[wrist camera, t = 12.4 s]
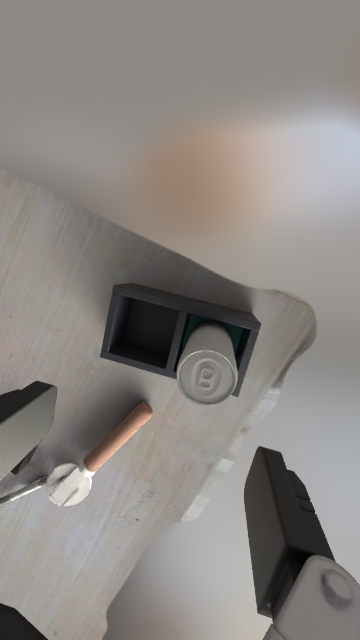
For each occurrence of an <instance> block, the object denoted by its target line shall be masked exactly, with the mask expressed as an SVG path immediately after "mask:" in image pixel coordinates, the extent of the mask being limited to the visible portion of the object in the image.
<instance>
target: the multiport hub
mask: <svg viewBox="0 0 360 640" xmlns="http://www.w3.org/2000/svg"><path fill="white" fill-rule="evenodd" d="M37 446H38V444H37V445H36V446H35V447H34V448H33V449H32V450H31V451H30V452H29V453H28V454H27V455H26V456H25V457H24V458H23V459H22V460H21V461H20V462H19V463H18V464H17V465H16V466H15V467H14V468H13V469H12V470H11V471H10V472H12V473H13V474H15V475H16V474H18V473H19V472H20V471H21V470H22V469H23V468H24V467H25V466H26V465H27V464H28V463H29V461H30V459H31V457H32V455H33V454H34V452H35V450H36V448H37Z"/></svg>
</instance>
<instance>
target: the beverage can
mask: <svg viewBox="0 0 360 640" xmlns="http://www.w3.org/2000/svg"><path fill="white" fill-rule="evenodd" d="M237 377H238V372H237V366H236V361H235V356H234V351H233V346H232V340H231V335H230V333H229V331H228V329H227V328H226V327H225V326H224V325H223V324H221V323H219V322H216V321H204V322H202V323H200V324H198V325H197V326H196V327H195V328H194V330H193V331H192V333H191V335H190V338H189V340H188V342H187V344H186V347H185V349H184V351H183V353H182V356H181V358H180V360H179V363H178V366H177V382H178V386H179V388H180V390H181V392H182V393H183V395H184V396H185V397H186V398H187V399H189V400H190V401H192V402H193V403H196V404H198V405H203V406H213V405H217V404H220V403H222V402H224V401H225V400H227V399H228V398H229V397H230V396H231V394H232V393H233V391H234V389H235V386H236V383H237Z"/></svg>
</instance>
